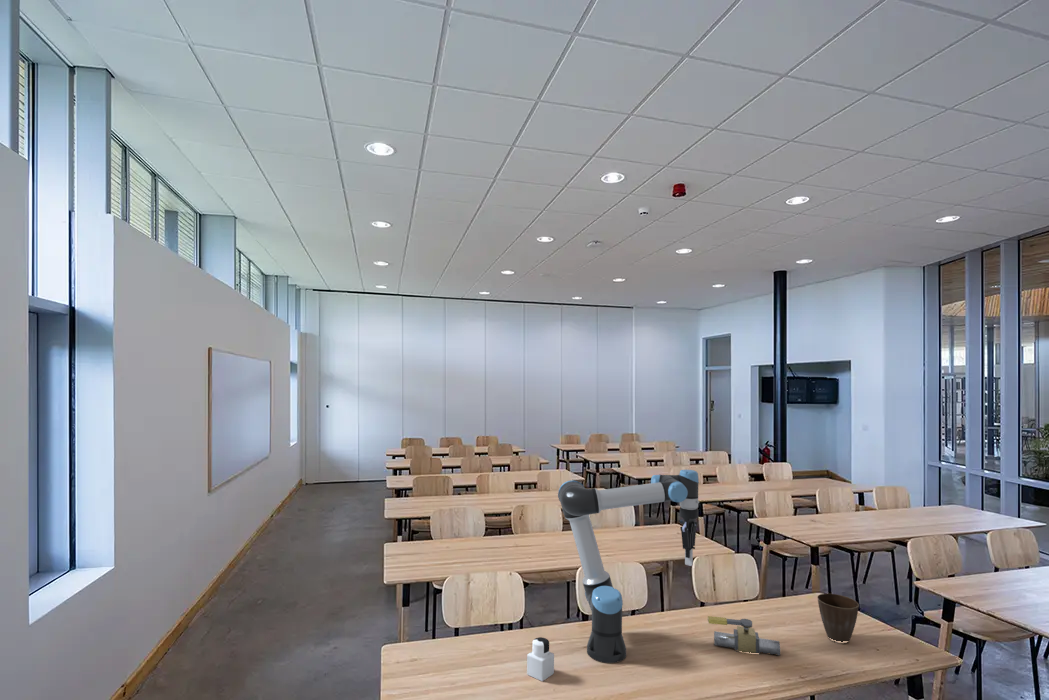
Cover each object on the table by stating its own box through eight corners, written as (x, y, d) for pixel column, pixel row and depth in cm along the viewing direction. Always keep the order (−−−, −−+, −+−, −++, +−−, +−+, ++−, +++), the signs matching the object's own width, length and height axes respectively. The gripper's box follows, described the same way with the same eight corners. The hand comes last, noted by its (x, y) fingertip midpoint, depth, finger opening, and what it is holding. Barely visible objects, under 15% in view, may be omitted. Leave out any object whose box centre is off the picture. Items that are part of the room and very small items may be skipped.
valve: (714, 648, 216) (714, 624, 217) (714, 640, 223) (714, 617, 223) (780, 659, 209) (780, 634, 209) (778, 650, 215) (778, 627, 216)
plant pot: (859, 652, 215) (858, 611, 216) (816, 642, 223) (816, 602, 224) (859, 637, 228) (858, 598, 229) (818, 628, 236) (818, 590, 236)
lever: (750, 623, 218) (750, 619, 218) (753, 628, 214) (753, 624, 214) (707, 619, 221) (707, 615, 221) (709, 624, 217) (709, 620, 217)
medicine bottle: (538, 666, 200) (539, 633, 201) (554, 673, 196) (554, 639, 196) (526, 674, 195) (527, 640, 195) (542, 682, 190) (542, 646, 191)
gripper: (691, 511, 221) (691, 571, 219) (703, 506, 231) (703, 562, 230) (674, 508, 225) (673, 566, 224) (686, 503, 236) (686, 559, 234)
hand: (688, 564), depth 227 cm, fingers closed
